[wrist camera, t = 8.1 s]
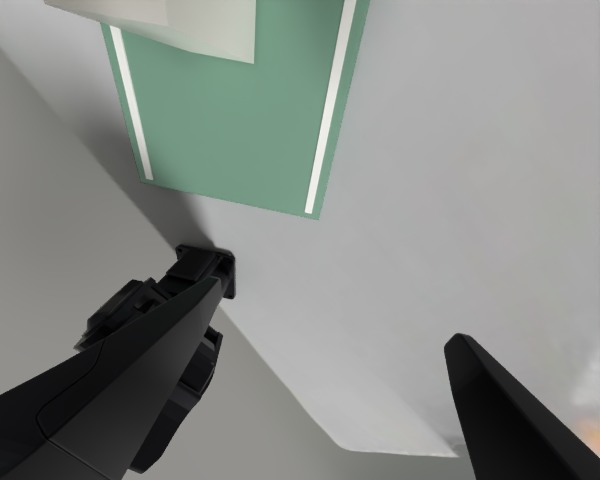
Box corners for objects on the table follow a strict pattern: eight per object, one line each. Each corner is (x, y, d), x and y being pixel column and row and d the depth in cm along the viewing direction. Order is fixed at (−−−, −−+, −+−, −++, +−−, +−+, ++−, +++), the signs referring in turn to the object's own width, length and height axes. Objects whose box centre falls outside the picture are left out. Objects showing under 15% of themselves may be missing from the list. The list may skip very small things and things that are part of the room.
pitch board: (319, 215, 19) (318, 220, 19) (149, 178, 20) (139, 182, 19) (492, -528, 6) (519, -637, 5) (-24, -568, 7) (-79, -670, 6)
